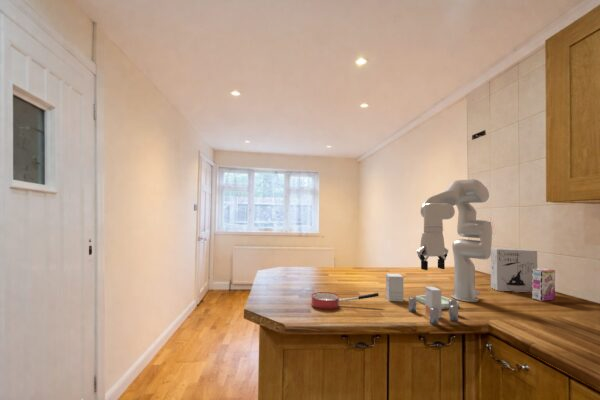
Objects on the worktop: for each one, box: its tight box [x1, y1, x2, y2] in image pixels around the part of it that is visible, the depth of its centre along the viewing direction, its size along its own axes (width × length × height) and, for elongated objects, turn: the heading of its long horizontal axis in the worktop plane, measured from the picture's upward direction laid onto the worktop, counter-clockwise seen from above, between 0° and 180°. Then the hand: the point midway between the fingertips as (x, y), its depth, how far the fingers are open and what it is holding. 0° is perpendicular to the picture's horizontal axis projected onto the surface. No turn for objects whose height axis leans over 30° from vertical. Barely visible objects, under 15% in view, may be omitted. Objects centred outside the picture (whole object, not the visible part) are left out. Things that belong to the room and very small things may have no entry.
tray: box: [415, 294, 460, 310], centre depth 137 cm, size 14×14×2 cm
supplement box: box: [385, 273, 404, 303], centre depth 143 cm, size 7×7×13 cm
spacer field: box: [408, 296, 459, 326], centre depth 122 cm, size 21×17×6 cm
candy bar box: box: [531, 268, 556, 302], centre depth 149 cm, size 11×5×16 cm, turn 108°
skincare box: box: [424, 286, 442, 319], centre depth 121 cm, size 6×4×12 cm
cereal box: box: [490, 247, 538, 293], centre depth 167 cm, size 22×8×25 cm, turn 81°
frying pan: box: [310, 291, 380, 311], centre depth 132 cm, size 32×13×6 cm, turn 97°
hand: (432, 269), depth 122 cm, fingers open, 9 cm apart
